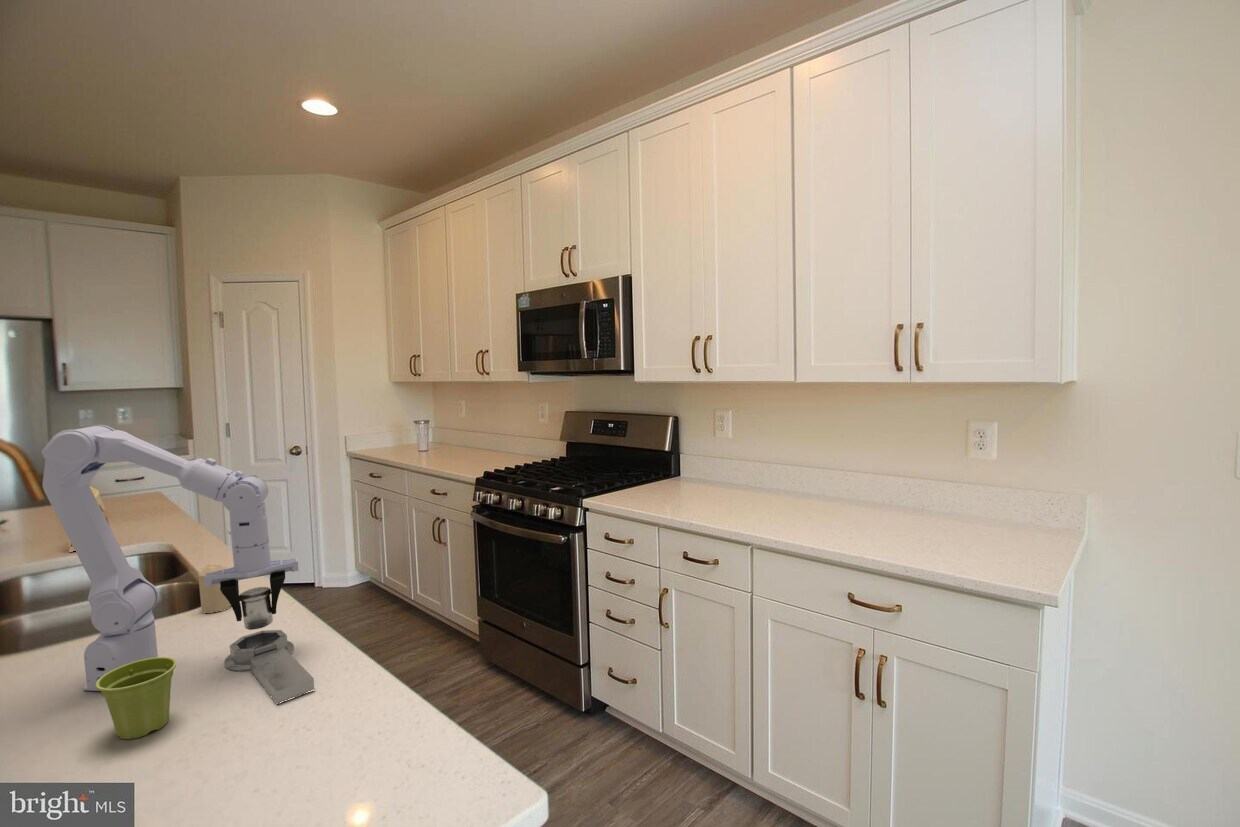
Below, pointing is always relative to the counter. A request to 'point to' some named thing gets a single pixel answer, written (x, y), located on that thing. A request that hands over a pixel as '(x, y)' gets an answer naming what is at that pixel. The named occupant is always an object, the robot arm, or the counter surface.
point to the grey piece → (270, 664)
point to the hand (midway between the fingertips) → (256, 615)
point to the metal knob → (256, 607)
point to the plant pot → (138, 695)
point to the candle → (211, 592)
